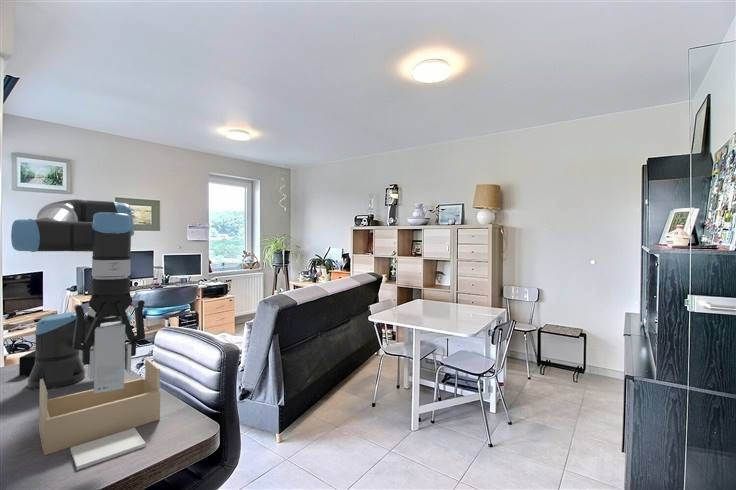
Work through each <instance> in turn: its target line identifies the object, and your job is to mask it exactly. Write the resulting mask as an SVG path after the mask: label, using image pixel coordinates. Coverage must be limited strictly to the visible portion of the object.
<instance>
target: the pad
mask: <svg viewBox="0 0 736 490" xmlns="http://www.w3.org/2000/svg"><path fill="white" fill-rule="evenodd" d="M146 445H147V444H146V441H145V440H144V438H143V437H142V436H141V435H140V434H139V431H138V430H137V429H136V427H134V428H131V429H127V430H124V431H121V432H118V433H115V434H111V435H108V436H105V437H102V438H98V439H95V440H92V441H89V442H85V443H82V444H79V445H76V446H72V447H69V448H70V454H71V456H72V460H73V463H74V465H75V469H76V471H79V470H82V469H85V468H87V467H88V468H89V467H91V466H93V465H96V464H98V463H101V462H105V461H108V460H111V459H113V458H116V457H119V456H122V455H125V454H127V453H128V454H129V453H130V452H133V451H136V450H139V449H142V448H145V447H146Z"/></svg>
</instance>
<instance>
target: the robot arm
mask: <svg viewBox="0 0 736 490" xmlns="http://www.w3.org/2000/svg"><path fill="white" fill-rule="evenodd" d="M10 233H11V234H10V237H11V239H10V241H11V246H12V248H13V249H14V250H15V251H17V252H31V253H36V252H86V253H87V252H89V253H90V252H92V257H91V258H92V259H91V276H92V277H93V278H92V280H91V291H90V292H91V293H90V294H91V295H90V296H91V297H90V299H89V301H87V302H86V303H83V304H82V303H81V304H75V305H74V307H73V310H74V311H70V312H68V311H67V312H63V313H58V314H53V315H48V316H46V317H43V318H40V319H39V320H38V321H37V322H36V326H35V332H34V335H35V350H34V351H35V364H34V367H33V369H32V371H31V374H30V376H28V379H27V388H28V389H30V390H37V391H38V390H39V391H40V379H43V380H44V383H45V387H46V390H50V389H57V388H62V387H66V386H69V385H73V384H75V383H78V382H80V381H82V380H83V379H84V378H85V377H86V369H85V366H87V377H88V379H89V380H94V348H95V329H96V328H97V327H100V325H101V323H108V322H118V321H121V323H123V324H125V371H126V372H128V373H129V372H131V371H132V357H135V356H136V355H137V344H138V342H139V341H143V340H145V338H146V333H145V332H146V331H145V322H144V319H145V318H144V311H143V309H144V306H145V304H146V303H145V300H144V299H142V298H141V299H140V298H138V299H134V298H133V297H132V296H131V279H130V277H129V276H130V275H131V247H132V236H134V235H135V229H134V221H133V212H132V208H131V206H130V205H129V204H128V203H125V202H117V201H107V200H105V201H103V200H89V199H76V198H75V199H65V200H58V201H55V202H51V203H49V204H46V205H44V206H43V207H42V208H40V209H39V210H38V213H37V215H36V219H32V218H28V219H19V218H18V219H16V220H14V221H13V222H12V224H11V231H10ZM131 305H132V308H134V319H135V320H134V321H135V329H136V334H135V333H134V330H133V327H132V326H131V319H132V315H131V312H129V311H127V309H128V308H130V306H131ZM86 314H87V315H86ZM127 339H128V342H126V340H127ZM91 347H92V348H91ZM79 350H82V362H83V364H84V365H83V364H82V362H81V359H80V357H79Z"/></svg>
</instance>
